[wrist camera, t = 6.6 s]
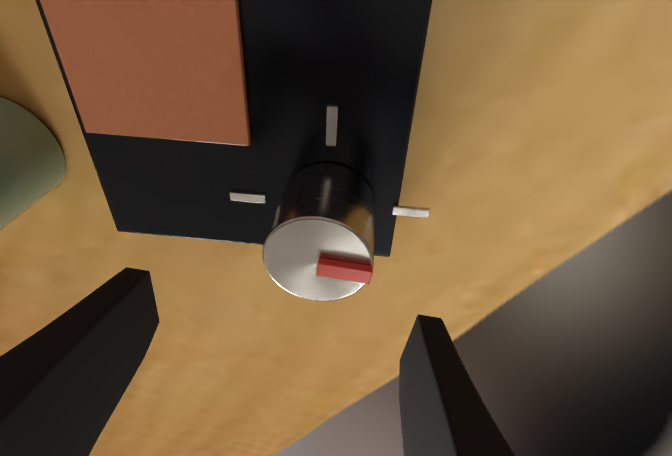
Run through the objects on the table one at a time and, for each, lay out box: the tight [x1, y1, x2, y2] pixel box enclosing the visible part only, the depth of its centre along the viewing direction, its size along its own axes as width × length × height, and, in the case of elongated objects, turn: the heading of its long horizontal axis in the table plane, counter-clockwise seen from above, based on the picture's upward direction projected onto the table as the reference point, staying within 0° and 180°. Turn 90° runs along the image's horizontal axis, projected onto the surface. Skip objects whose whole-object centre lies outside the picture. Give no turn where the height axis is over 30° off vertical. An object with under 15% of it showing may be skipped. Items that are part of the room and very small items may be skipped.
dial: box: [262, 163, 375, 301], centre depth 14 cm, size 4×4×4 cm
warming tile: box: [40, 0, 251, 146], centre depth 13 cm, size 6×6×1 cm
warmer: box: [36, 0, 432, 257], centre depth 15 cm, size 12×13×3 cm
